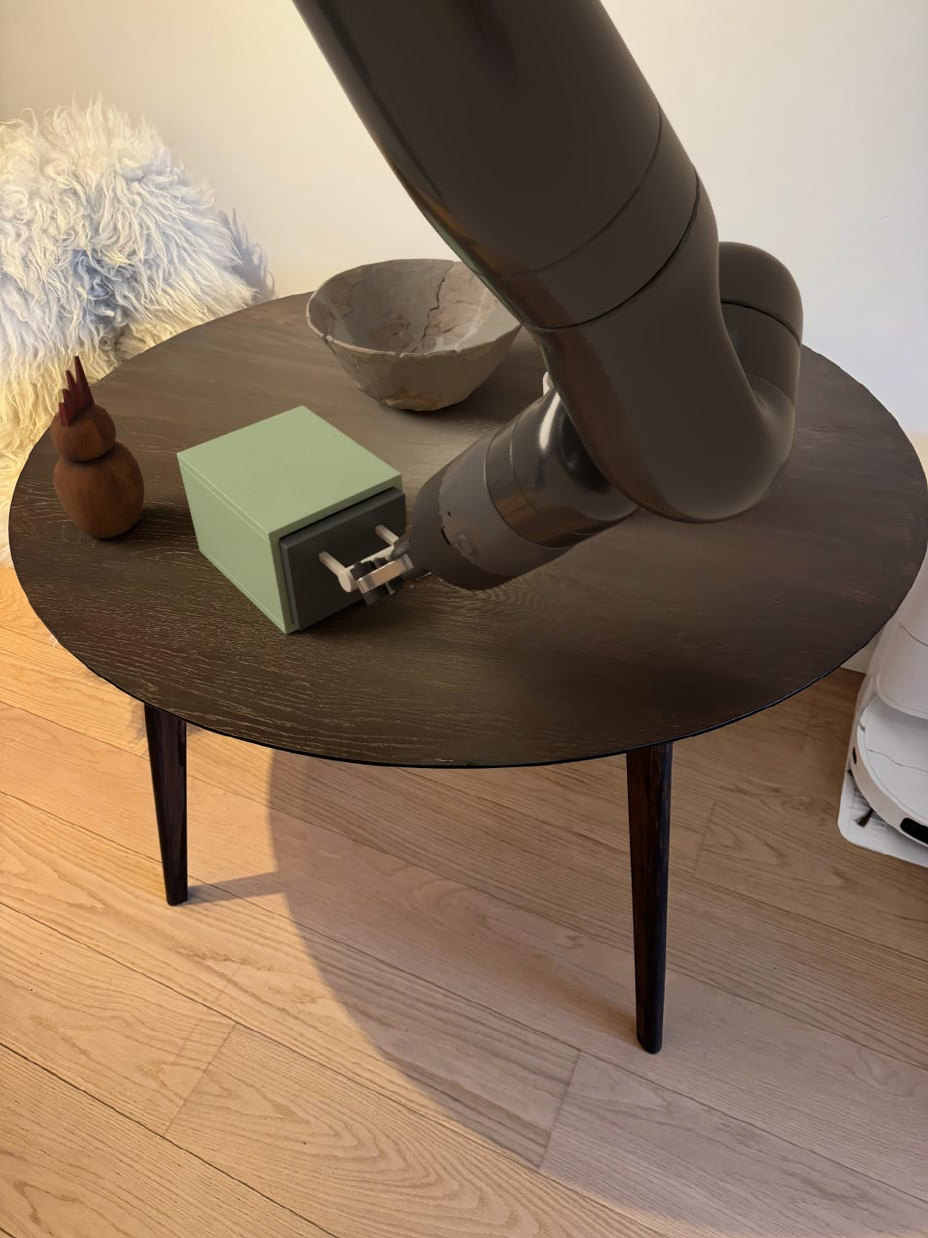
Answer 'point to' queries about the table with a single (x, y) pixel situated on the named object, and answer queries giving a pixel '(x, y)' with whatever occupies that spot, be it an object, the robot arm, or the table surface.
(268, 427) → the green drawer cabinet
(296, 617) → the fryer drawer
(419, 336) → the ceramic bowl
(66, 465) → the wooden figurine
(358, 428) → the table surface
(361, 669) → the table surface
